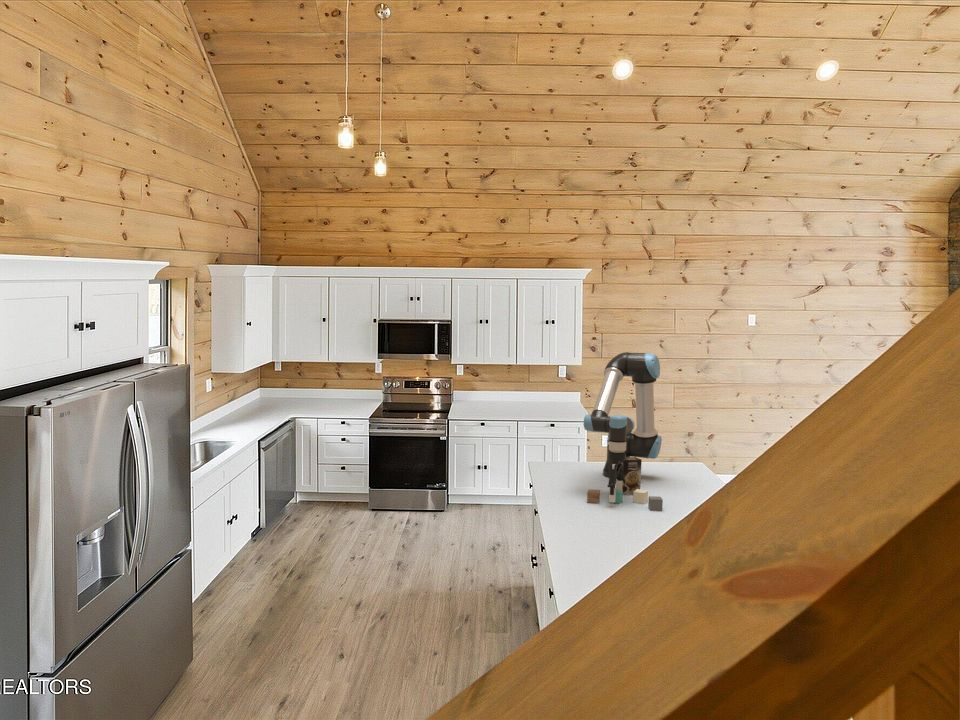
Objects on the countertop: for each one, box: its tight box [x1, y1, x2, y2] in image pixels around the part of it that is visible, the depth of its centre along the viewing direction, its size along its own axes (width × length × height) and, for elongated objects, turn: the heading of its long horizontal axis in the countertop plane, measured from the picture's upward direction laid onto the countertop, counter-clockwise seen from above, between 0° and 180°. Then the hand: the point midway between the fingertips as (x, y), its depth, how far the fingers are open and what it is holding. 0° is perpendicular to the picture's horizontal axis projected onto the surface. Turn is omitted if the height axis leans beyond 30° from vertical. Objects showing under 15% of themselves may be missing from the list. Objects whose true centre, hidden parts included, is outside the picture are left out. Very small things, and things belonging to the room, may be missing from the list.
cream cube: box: [632, 488, 649, 505], centre depth 341 cm, size 5×5×5 cm
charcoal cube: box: [647, 495, 664, 512], centre depth 330 cm, size 5×5×5 cm
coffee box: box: [622, 456, 643, 495], centre depth 357 cm, size 9×6×16 cm
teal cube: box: [608, 490, 624, 505], centre depth 340 cm, size 5×5×5 cm
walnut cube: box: [586, 488, 601, 505], centre depth 340 cm, size 5×5×5 cm
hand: (615, 498), depth 340 cm, fingers open, 13 cm apart
